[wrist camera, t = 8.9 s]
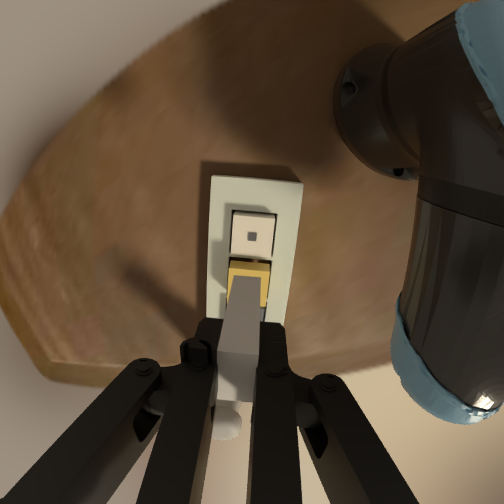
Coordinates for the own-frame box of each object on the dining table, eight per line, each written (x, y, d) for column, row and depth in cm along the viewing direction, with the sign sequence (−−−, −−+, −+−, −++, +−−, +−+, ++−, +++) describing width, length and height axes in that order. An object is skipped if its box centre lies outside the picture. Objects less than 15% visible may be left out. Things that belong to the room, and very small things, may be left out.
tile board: (214, 174, 29) (211, 175, 28) (301, 182, 29) (303, 184, 28) (208, 323, 35) (206, 330, 34) (280, 330, 35) (281, 337, 34)
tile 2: (230, 260, 30) (228, 268, 29) (269, 263, 30) (269, 272, 29) (228, 294, 32) (226, 303, 30) (265, 297, 32) (265, 307, 30)
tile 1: (235, 210, 30) (233, 215, 28) (274, 214, 30) (275, 219, 28) (232, 247, 31) (230, 254, 29) (270, 250, 31) (270, 258, 29)
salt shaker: (203, 362, 38) (186, 438, 26) (214, 332, 36) (196, 410, 24) (244, 374, 38) (238, 451, 26) (258, 344, 36) (256, 425, 24)
